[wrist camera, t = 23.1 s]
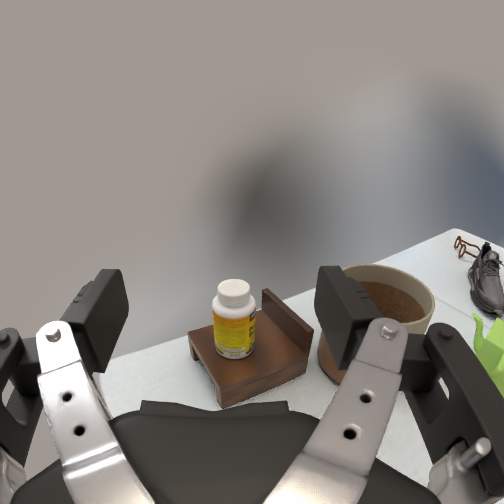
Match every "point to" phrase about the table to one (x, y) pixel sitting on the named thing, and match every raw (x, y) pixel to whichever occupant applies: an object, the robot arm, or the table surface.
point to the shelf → (257, 353)
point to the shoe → (487, 281)
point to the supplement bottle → (234, 319)
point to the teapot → (491, 350)
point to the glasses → (464, 247)
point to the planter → (386, 304)
